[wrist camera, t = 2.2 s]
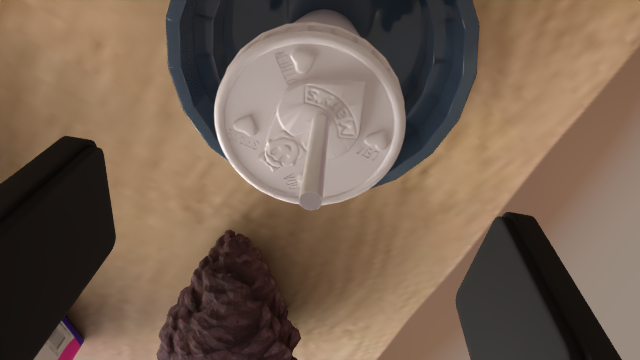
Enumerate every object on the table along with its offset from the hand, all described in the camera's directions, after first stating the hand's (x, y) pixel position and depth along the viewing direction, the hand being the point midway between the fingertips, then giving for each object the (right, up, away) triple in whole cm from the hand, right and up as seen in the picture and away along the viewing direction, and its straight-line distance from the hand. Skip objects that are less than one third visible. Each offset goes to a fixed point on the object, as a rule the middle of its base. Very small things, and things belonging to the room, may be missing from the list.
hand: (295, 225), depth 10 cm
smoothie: (+1, +8, +12) cm, 14 cm away
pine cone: (-6, -8, +23) cm, 25 cm away
